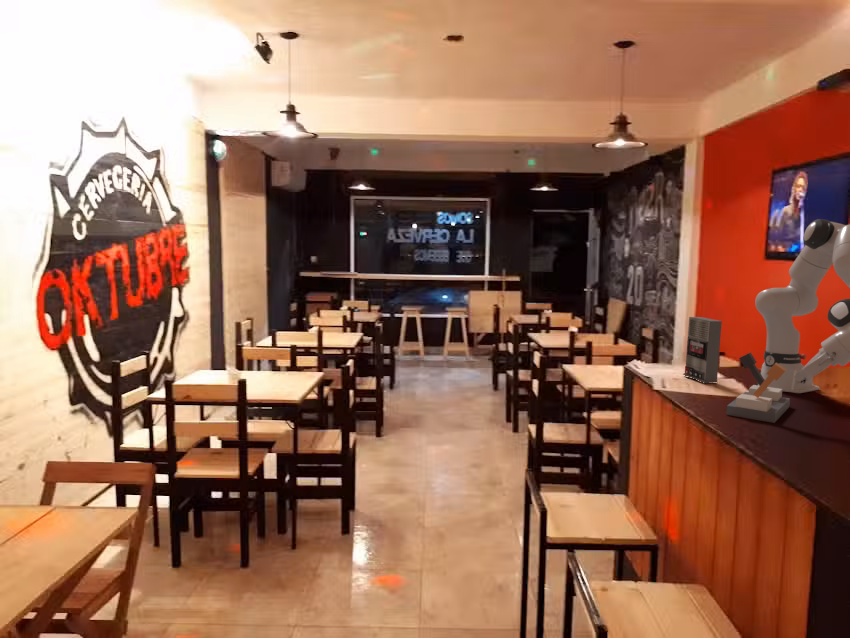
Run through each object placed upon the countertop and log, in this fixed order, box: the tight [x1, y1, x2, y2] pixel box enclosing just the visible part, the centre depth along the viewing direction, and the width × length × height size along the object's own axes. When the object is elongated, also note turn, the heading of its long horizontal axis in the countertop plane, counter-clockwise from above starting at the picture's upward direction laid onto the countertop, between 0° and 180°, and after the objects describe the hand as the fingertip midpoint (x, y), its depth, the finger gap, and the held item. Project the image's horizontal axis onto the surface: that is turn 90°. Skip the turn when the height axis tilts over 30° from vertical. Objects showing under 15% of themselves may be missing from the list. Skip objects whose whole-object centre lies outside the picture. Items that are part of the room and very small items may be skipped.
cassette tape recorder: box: [683, 316, 723, 384], centre depth 260 cm, size 14×6×25 cm, turn 12°
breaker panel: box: [725, 384, 791, 424], centre depth 214 cm, size 26×14×6 cm, turn 142°
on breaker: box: [738, 352, 765, 385], centre depth 223 cm, size 3×4×12 cm
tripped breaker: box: [753, 362, 787, 398], centre depth 204 cm, size 3×4×12 cm
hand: (796, 378), depth 199 cm, fingers closed
